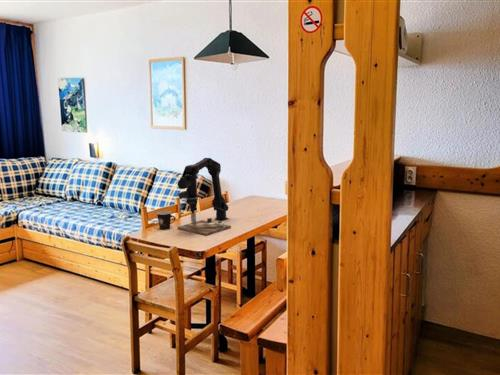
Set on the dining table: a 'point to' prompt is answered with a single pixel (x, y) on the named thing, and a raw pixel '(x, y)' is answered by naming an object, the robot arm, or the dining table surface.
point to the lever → (193, 222)
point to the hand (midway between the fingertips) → (193, 211)
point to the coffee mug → (164, 220)
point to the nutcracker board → (203, 228)
